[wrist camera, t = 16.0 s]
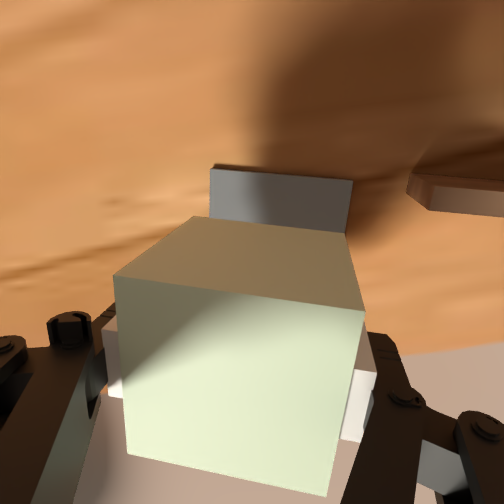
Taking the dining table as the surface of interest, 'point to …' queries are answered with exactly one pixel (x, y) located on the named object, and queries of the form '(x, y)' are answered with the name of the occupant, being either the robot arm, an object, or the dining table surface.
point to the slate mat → (280, 199)
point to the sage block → (239, 350)
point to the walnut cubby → (458, 194)
